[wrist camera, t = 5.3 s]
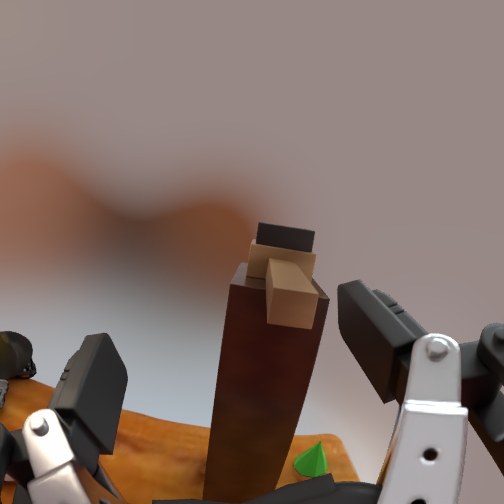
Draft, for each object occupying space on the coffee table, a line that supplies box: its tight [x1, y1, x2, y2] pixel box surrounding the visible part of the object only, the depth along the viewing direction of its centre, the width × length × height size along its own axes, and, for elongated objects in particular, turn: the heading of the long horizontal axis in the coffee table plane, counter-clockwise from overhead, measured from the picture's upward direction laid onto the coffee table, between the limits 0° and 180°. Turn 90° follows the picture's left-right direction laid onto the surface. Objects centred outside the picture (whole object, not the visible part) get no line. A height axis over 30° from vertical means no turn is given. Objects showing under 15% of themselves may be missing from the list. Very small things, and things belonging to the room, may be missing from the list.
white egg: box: [4, 474, 15, 481], centre depth 22 cm, size 10×7×7 cm
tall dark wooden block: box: [202, 263, 330, 504], centre depth 31 cm, size 8×12×32 cm, turn 178°
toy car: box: [16, 357, 36, 379], centre depth 48 cm, size 6×12×4 cm, turn 49°
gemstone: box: [294, 441, 327, 477], centre depth 39 cm, size 6×6×6 cm
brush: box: [246, 222, 319, 329], centre depth 24 cm, size 6×18×5 cm, turn 178°
